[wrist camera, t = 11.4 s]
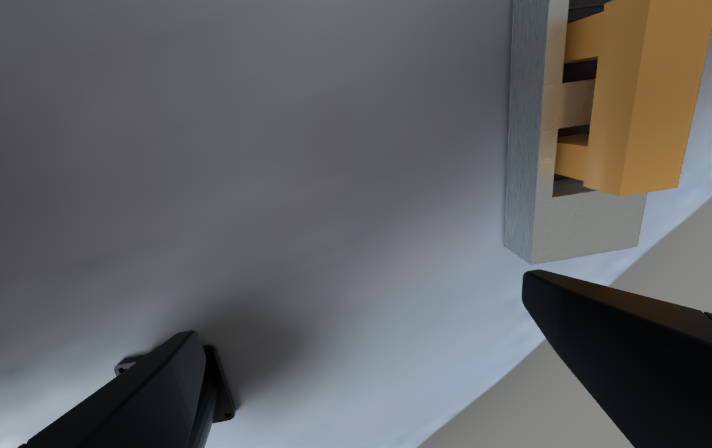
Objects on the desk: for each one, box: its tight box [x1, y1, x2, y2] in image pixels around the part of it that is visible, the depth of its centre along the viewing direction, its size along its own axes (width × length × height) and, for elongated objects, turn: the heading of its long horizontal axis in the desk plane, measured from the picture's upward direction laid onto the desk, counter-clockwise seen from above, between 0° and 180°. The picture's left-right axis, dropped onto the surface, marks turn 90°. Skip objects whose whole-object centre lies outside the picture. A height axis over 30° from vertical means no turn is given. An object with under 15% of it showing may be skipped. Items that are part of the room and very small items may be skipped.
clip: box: [554, 0, 712, 197], centre depth 17 cm, size 8×3×6 cm, turn 7°
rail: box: [504, 0, 647, 265], centre depth 18 cm, size 18×7×3 cm, turn 7°
